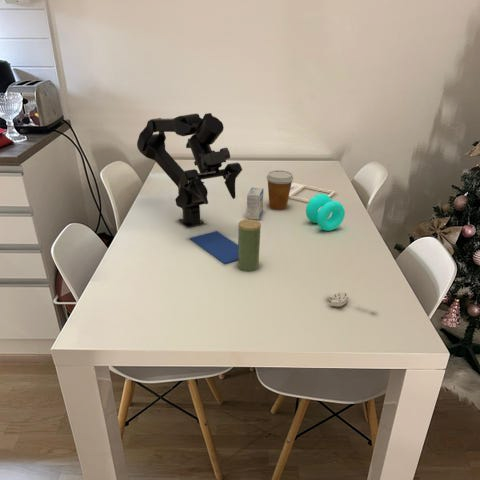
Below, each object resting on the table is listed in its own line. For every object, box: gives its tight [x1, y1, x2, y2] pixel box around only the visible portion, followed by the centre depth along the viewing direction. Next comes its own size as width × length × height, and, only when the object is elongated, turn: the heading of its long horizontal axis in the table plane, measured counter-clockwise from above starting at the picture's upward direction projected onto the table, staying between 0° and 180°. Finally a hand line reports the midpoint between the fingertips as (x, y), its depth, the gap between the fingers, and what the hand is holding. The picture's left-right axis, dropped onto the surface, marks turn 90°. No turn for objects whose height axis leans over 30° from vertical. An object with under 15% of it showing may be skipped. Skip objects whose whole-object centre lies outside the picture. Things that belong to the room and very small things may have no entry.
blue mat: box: [189, 230, 238, 265], centre depth 150 cm, size 20×10×1 cm, turn 35°
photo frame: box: [288, 182, 336, 203], centre depth 189 cm, size 15×1×18 cm
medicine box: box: [246, 186, 264, 221], centre depth 169 cm, size 8×4×9 cm, turn 168°
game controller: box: [328, 291, 373, 312], centre depth 124 cm, size 6×12×3 cm, turn 77°
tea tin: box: [237, 218, 262, 272], centre depth 137 cm, size 6×6×13 cm
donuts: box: [305, 193, 346, 232], centre depth 162 cm, size 10×10×10 cm
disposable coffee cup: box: [265, 169, 294, 211], centre depth 175 cm, size 10×10×12 cm
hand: (221, 201), depth 145 cm, fingers open, 9 cm apart
